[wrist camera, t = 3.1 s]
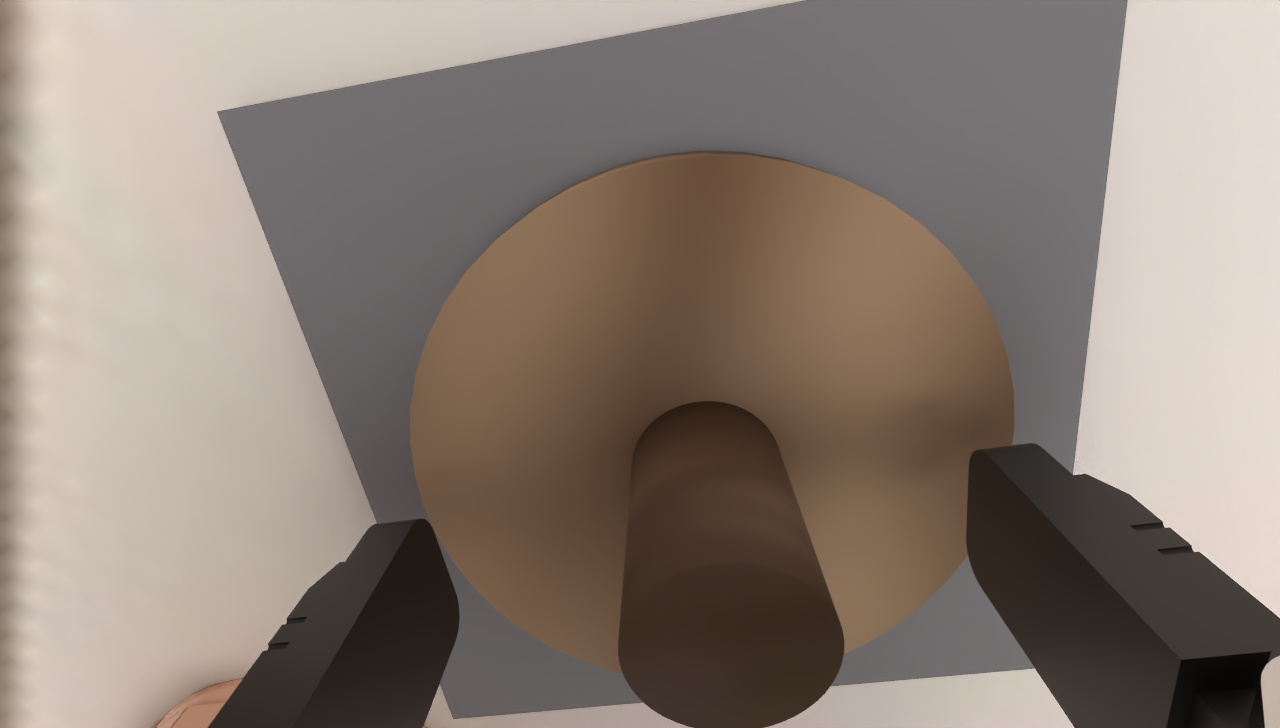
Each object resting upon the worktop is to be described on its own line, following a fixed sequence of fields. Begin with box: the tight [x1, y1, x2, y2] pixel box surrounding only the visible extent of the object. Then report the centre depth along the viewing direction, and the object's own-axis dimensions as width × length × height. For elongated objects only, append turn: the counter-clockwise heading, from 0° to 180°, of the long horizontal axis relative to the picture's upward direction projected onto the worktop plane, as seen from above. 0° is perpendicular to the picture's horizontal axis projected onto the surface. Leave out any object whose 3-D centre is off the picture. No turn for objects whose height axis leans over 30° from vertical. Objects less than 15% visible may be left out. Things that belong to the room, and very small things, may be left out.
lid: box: [410, 151, 1015, 728], centre depth 10 cm, size 10×10×5 cm
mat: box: [217, 0, 1127, 719], centre depth 12 cm, size 14×14×1 cm
